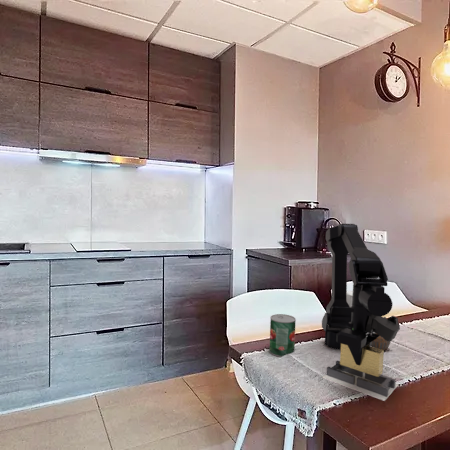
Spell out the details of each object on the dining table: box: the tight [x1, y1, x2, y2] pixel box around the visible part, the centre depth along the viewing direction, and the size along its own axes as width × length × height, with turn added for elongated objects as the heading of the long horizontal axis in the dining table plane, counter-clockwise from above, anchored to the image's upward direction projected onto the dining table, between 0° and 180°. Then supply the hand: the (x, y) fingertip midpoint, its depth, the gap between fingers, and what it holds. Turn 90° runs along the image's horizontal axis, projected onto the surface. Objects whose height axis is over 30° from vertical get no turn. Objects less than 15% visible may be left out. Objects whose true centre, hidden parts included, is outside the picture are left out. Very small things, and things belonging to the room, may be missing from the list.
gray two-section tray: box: [325, 360, 397, 397], centre depth 94 cm, size 16×6×2 cm, turn 48°
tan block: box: [339, 344, 385, 377], centre depth 94 cm, size 10×3×6 cm, turn 48°
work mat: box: [321, 371, 400, 402], centre depth 94 cm, size 16×11×1 cm
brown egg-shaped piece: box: [371, 333, 391, 351], centre depth 119 cm, size 7×7×9 cm
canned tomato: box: [268, 313, 297, 358], centre depth 113 cm, size 8×8×11 cm
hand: (360, 362), depth 94 cm, fingers closed on tan block, 3 cm apart
